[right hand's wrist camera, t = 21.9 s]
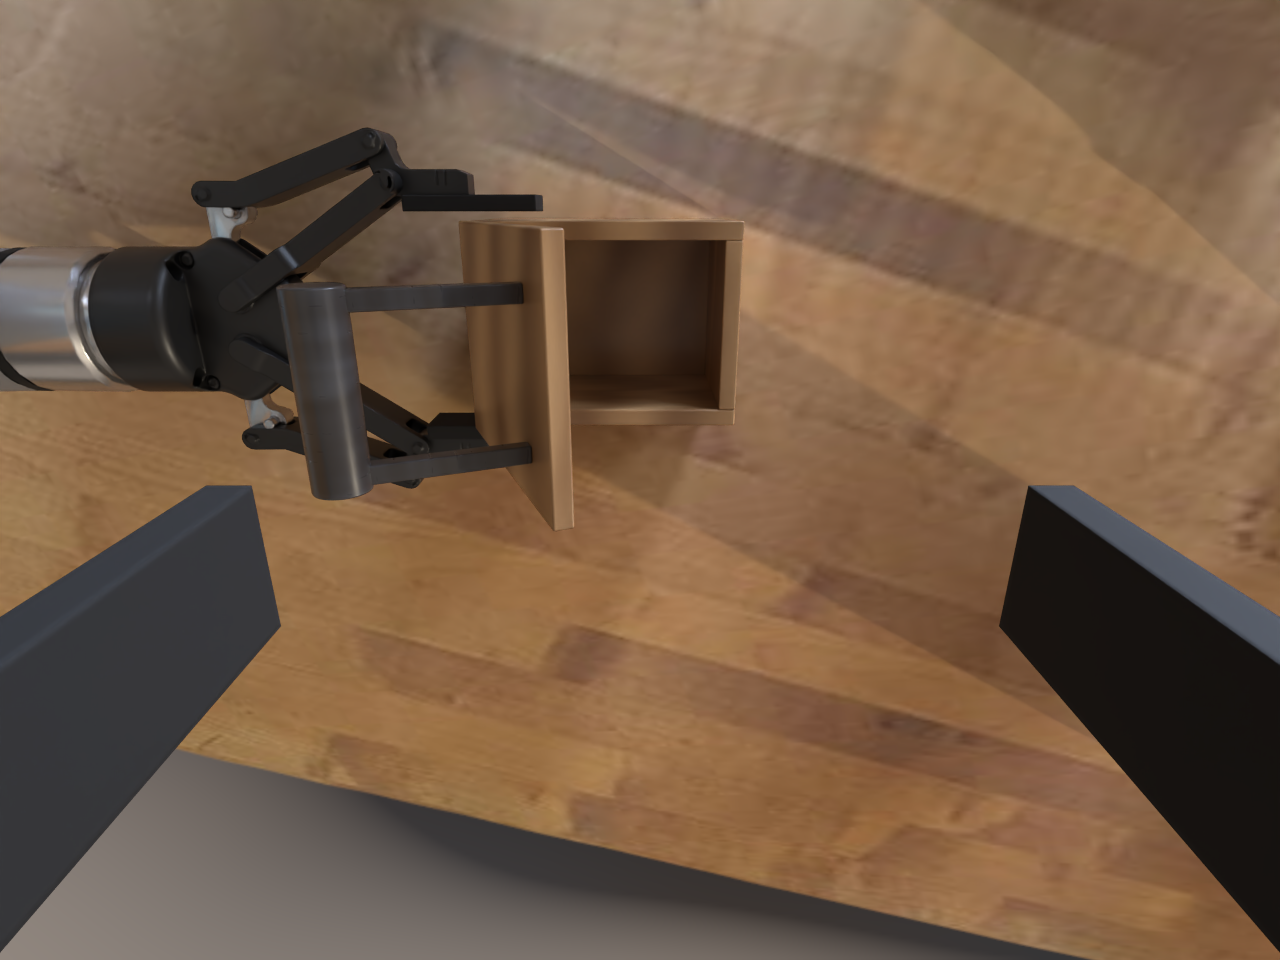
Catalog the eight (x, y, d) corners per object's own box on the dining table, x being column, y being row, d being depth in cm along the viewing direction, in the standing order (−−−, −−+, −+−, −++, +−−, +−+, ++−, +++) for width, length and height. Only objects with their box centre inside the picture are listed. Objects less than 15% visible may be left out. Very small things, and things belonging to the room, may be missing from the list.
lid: (564, 227, 22) (259, 230, 19) (575, 528, 25) (320, 573, 22) (475, 220, 34) (279, 221, 30) (491, 427, 37) (317, 446, 34)
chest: (723, 218, 43) (744, 221, 34) (716, 385, 46) (734, 425, 37) (503, 218, 43) (469, 220, 34) (514, 384, 46) (485, 425, 37)
